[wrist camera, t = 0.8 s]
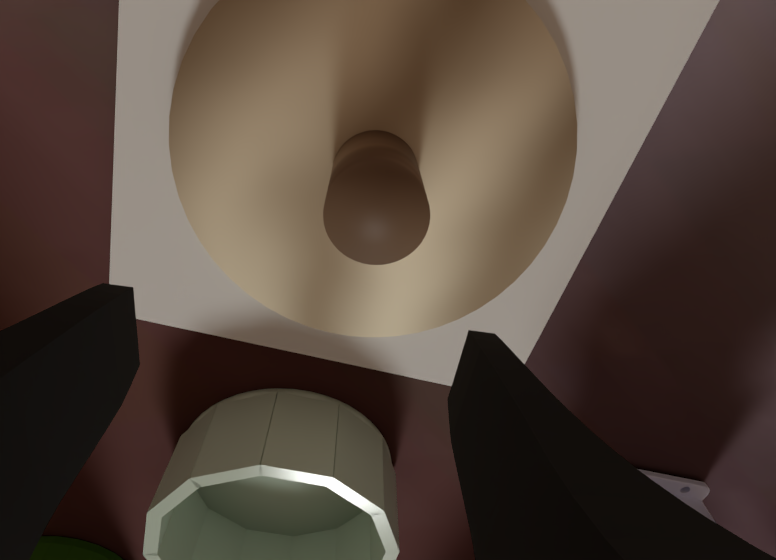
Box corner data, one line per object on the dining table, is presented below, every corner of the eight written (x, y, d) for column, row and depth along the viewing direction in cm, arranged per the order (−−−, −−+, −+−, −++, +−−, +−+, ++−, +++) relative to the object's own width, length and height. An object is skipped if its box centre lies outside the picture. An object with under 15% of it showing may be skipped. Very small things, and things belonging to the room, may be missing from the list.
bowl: (418, 411, 25) (428, 493, 21) (361, 543, 30) (359, 631, 26) (193, 365, 23) (153, 445, 19) (172, 514, 28) (137, 603, 24)
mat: (724, -28, 16) (734, -29, 16) (504, 390, 24) (506, 397, 24) (136, -260, 13) (128, -268, 13) (113, 306, 21) (108, 312, 21)
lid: (644, 20, 16) (739, 28, 12) (482, 355, 23) (508, 436, 18) (200, -142, 14) (126, -200, 10) (161, 283, 20) (108, 357, 16)
